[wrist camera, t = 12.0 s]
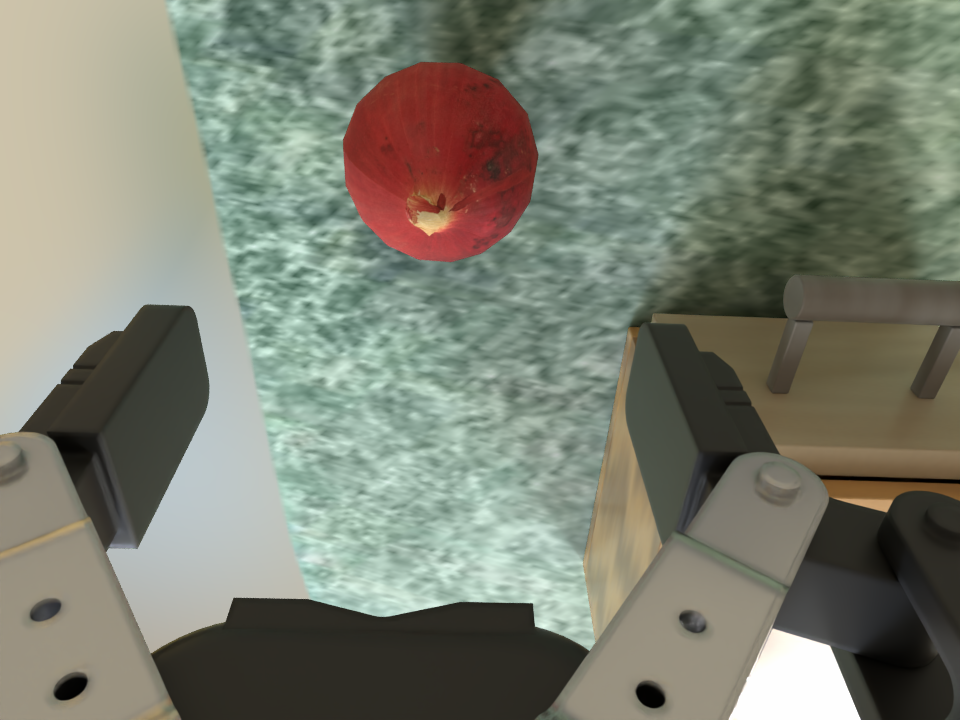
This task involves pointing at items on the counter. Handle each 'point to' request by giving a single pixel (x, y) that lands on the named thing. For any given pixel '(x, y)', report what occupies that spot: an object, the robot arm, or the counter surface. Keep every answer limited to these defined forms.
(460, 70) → the onion
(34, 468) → the robot arm
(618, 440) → the cabinet
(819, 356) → the drawer
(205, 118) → the counter surface
